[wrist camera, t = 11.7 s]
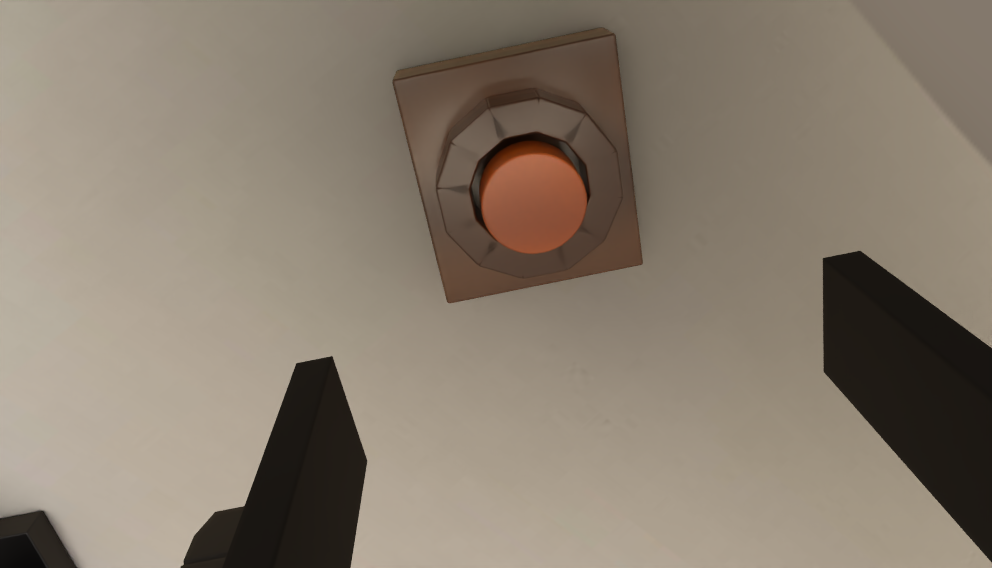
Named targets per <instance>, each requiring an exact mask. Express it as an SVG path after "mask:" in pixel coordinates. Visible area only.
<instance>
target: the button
mask: <svg viewBox="0 0 992 568" xmlns="http://www.w3.org/2000/svg"><path fill="white" fill-rule="evenodd" d="M479 196H480V204H481V211H482V217H483V220H484V223H485V225H486V227H487V229H488V231H489V232H490V234H491V235H492V236H493V237H494V238H495V239H496V240H497V241H498V242H499V243H500V244H502V245H503V246H505V247H507V248H509V249H511V250H513V251H516V252H520V253H526V254H538V253H544V252H548V251H551V250H553V249H556V248H558V247H560V246H561V245H563V244H564V243H566V242H567V241H568V240H569V239H570V238H572V237H573V235H574V234H575V233H576V232H577V230H578V229H579V227H580V226H581V224H582V222H583V220H584V217H585V214H586V209H587V193H586V188H585V185H584V183H583V180H582V178H581V177H580V175H579V173H578V171H577V170H576V168H575V166H574V164H573V163H572V161H571V160H570V158H569V157H568V156H567V155H566V154H565V153H564V152H563V151H561V150H560V149H559V148H557V147H555V146H553V145H551V144H548V143H545V142H541V141H521V142H517V143H514V144H511V145H509V146H507V147H505V148H504V149H502V150H501V151H499V152H498V153H497V154H496V155H495V156H494V157H493V158H492V159H491V160H490V161H489V163H488V164H487V166H486V167H485V169H484V171H483V174H482V176H481V180H480V186H479Z"/></svg>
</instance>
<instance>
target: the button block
mask: <svg viewBox="0 0 992 568" xmlns="http://www.w3.org/2000/svg"><path fill="white" fill-rule="evenodd" d="M393 86H394V90H395V94H396V98H397V102H398V106H399V110H400V114H401V118H402V122H403V126H404V130H405V135H406V139H407V143H408V147H409V151H410V155H411V159H412V163H413V167H414V171H415V175H416V179H417V183H418V187H419V191H420V195H421V199H422V203H423V207H424V211H425V215H426V219H427V223H428V227H429V231H430V235H431V239H432V243H433V247H434V251H435V255H436V259H437V263H438V267H439V271H440V275H441V279H442V283H443V287H444V291H445V295H446V299H447V302H448V303H454V302H459V301H464V300H469V299H474V298H478V297H483V296H488V295H493V294H498V293H503V292H508V291H513V290H518V289H523V288H528V287H533V286H538V285H543V284H548V283H553V282H558V281H563V280H568V279H573V278H578V277H583V276H588V275H593V274H598V273H602V272H607V271H612V270H617V269H622V268H627V267H632V266H637V265H641V264H642V263H643V260H642V251H641V243H640V235H639V226H638V218H637V210H636V201H635V193H634V185H633V177H632V168H631V160H630V152H629V143H628V135H627V127H626V118H625V110H624V102H623V94H622V85H621V77H620V69H619V60H618V52H617V44H616V35H615V34H614V33H612V32H610V31H609V30H607V29H605V28H597V29H592V30H587V31H583V32H578V33H573V34H568V35H564V36H559V37H554V38H549V39H545V40H540V41H535V42H530V43H526V44H521V45H516V46H511V47H507V48H502V49H497V50H492V51H488V52H483V53H478V54H474V55H469V56H464V57H459V58H455V59H450V60H445V61H440V62H436V63H431V64H426V65H421V66H417V67H412V68H407V69H402V70H398V71H396V74H395V76H394V79H393ZM521 141H541V142H545V143H548V144H551V145H553V146H555V147H557V148H559V149H560V150H561V151H563V152H564V153H565V154H566V155H567V156H568V157H569V158H570V160H571V161H572V163H573V164H574V166H575V168H576V170H577V171H578V173H579V175H580V177H581V178H582V180H583V183H584V185H585V188H586V193H587V209H586V214H585V217H584V220H583V222H582V224H581V226H580V227H579V229H578V230H577V232H576V233H575V234H574V235H573V237H572V238H570V239H569V240H568V241H567V242H566V243H564V244H563V245H561V246H560V247H558V248H556V249H553V250H551V251H548V252H544V253H538V254H526V253H520V252H516V251H513V250H511V249H509V248H507V247H505V246H503V245H502V244H500V243H499V242H498V241H497V240H496V239H495V238H494V237H493V236H492V235H491V234H490V232H489V231H488V229H487V227H486V225H485V223H484V220H483V217H482V211H481V204H480V196H479V186H480V180H481V176H482V174H483V171H484V169H485V167H486V166H487V164H488V163H489V161H490V160H491V159H492V158H493V157H494V156H495V155H496V154H497V153H498V152H499V151H501V150H502V149H504V148H505V147H507V146H509V145H511V144H514V143H517V142H521Z"/></svg>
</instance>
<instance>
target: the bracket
mask: <svg viewBox="0 0 992 568" xmlns="http://www.w3.org/2000/svg"><path fill="white" fill-rule="evenodd" d="M0 568H76V567H75V566H74V564H73V562H72V561H71V559H70V557H69V556H68V554H67V552H66V550H65V549H64V547H63V545H62V544H61V542H60V540H59V538H58V537H57V535H56V533H55V532H54V530H53V528H52V527H51V525H50V523H49V521H48V520H47V518H46V516H45V515H44V513H43V512H42V511H40V512H35V513H30V514H25V515H20V516H15V517H10V518H4V519H0Z"/></svg>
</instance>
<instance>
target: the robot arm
mask: <svg viewBox="0 0 992 568" xmlns="http://www.w3.org/2000/svg"><path fill="white" fill-rule="evenodd" d="M823 344H824V373H825V374H826V375H827V376H828V377H829V378H830V379H831V380H832V382H833V383H834V384H835V385H836V386H837V387H838V388H839V390H840V391H841V392H842V393H843V394H844V395H845V396H846V397H847V399H848V400H849V401H850V402H851V403H852V404H853V405H854V407H855V408H856V409H857V410H858V411H859V412H860V413H861V415H862V416H863V417H864V418H865V419H866V420H867V421H868V422H869V424H870V425H871V426H872V427H873V428H874V429H875V430H876V432H877V433H878V434H879V435H880V436H881V437H882V438H883V440H884V441H885V442H886V443H887V444H888V445H889V446H890V447H891V449H892V450H893V451H894V452H895V453H896V454H897V455H898V457H899V458H900V459H901V460H902V461H903V462H904V463H905V464H906V466H907V467H908V468H909V469H910V470H911V471H912V472H913V474H914V475H915V476H916V477H917V478H918V479H919V480H920V482H921V483H922V484H923V485H924V486H925V487H926V488H927V489H928V491H929V492H930V493H931V494H932V495H933V496H934V497H935V499H936V500H937V501H938V502H939V503H940V504H941V505H942V506H943V508H944V509H945V510H946V511H947V512H948V513H949V514H950V516H951V517H952V518H953V519H954V520H955V521H956V522H957V524H958V525H959V526H960V527H961V528H962V529H963V530H964V531H965V533H966V534H967V535H968V536H969V537H970V538H971V539H972V541H973V542H974V543H975V544H976V545H977V546H978V547H979V548H980V550H981V551H982V552H983V553H984V554H985V555H986V556H987V558H988V559H989V560H990V561H991V562H992V348H991V347H989V346H988V345H987V344H985V343H984V342H982V341H981V340H980V339H978V338H977V337H976V336H974V335H973V334H972V333H970V332H969V331H968V330H966V329H965V328H964V327H962V326H961V325H960V324H958V323H957V322H955V321H954V320H953V319H951V318H950V317H949V316H947V315H946V314H945V313H943V312H942V311H941V310H939V309H938V308H937V307H935V306H934V305H933V304H931V303H930V302H929V301H927V300H926V299H924V298H923V297H922V296H920V295H919V294H918V293H916V292H915V291H914V290H912V289H911V288H910V287H908V286H907V285H906V284H904V283H903V282H902V281H900V280H899V279H898V278H896V277H895V276H893V275H892V274H891V273H889V272H888V271H887V270H885V269H884V268H883V267H881V266H880V265H879V264H877V263H876V262H875V261H873V260H872V259H871V258H869V257H868V256H866V255H865V254H864V253H862V252H861V251H857V252H852V253H847V254H842V255H837V256H832V257H827V258H823ZM366 465H367V459H366V456H365V453H364V450H363V447H362V444H361V441H360V438H359V435H358V432H357V429H356V426H355V423H354V420H353V417H352V414H351V411H350V408H349V405H348V402H347V399H346V396H345V393H344V390H343V387H342V384H341V381H340V378H339V375H338V372H337V369H336V366H335V363H334V360H333V357H332V356H331V357H326V358H321V359H316V360H311V361H306V362H301V363H296V366H295V369H294V372H293V374H292V377H291V380H290V383H289V385H288V388H287V391H286V394H285V396H284V399H283V402H282V405H281V407H280V410H279V413H278V416H277V418H276V421H275V424H274V427H273V429H272V432H271V435H270V438H269V440H268V443H267V446H266V449H265V452H264V454H263V457H262V460H261V463H260V465H259V468H258V471H257V474H256V476H255V479H254V482H253V485H252V487H251V490H250V493H249V496H248V498H247V501H246V504H245V506H244V507H238V508H233V509H228V510H223V511H218V512H215V513H214V514H213V515H212V516H211V517H210V519H209V520H208V521H207V522H206V523H205V524H204V525H203V527H202V528H201V529H200V530H199V531H198V532H197V533H196V535H195V536H194V538H193V540H192V542H191V545H190V547H189V549H188V552H187V554H186V556H185V559H184V565H183V566H181V568H350V567H351V561H352V554H353V548H354V542H355V535H356V529H357V523H358V516H359V510H360V503H361V497H362V491H363V484H364V478H365V472H366Z"/></svg>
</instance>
